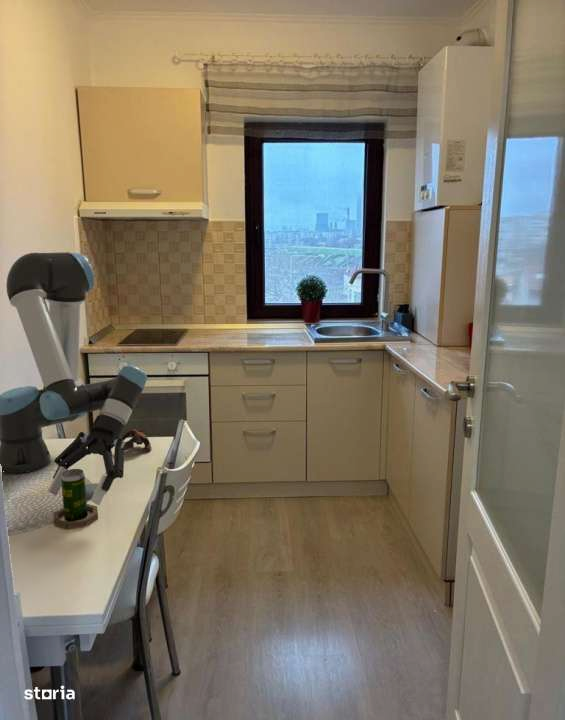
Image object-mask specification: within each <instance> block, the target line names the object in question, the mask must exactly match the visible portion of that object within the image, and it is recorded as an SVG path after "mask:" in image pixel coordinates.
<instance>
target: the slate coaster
mask: <svg viewBox="0 0 565 720" xmlns="http://www.w3.org/2000/svg"><path fill="white" fill-rule="evenodd" d="M98 484H99V482H97V483H95V482H94V483H85V487H86V499H88V500H91V499H92V496H93V494H94V492H95V490H96V488H97V486H98ZM107 492H108V491H106V492H105V494H107Z"/></svg>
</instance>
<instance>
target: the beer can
mask: <svg viewBox="0 0 565 720" xmlns="http://www.w3.org/2000/svg"><path fill="white" fill-rule="evenodd" d="M85 475H86V474H85V473H84V470H83V469H80V468H70V469H68V470H67V471H64V472H63V473H62V477H61V494H62V496H61V497H62V505H63V506H62V508H63V509H64V516H63V518H64V521H67V522H71V521H77V520H83V519H85V518H87V517H88V516H89V514H88V513H89V512H87V504H88V500H87V499H86V487H85V485H86V477H85Z"/></svg>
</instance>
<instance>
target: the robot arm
mask: <svg viewBox="0 0 565 720" xmlns="http://www.w3.org/2000/svg"><path fill="white" fill-rule="evenodd" d="M94 286H95V272H94V269H93V266H92V264H91V262H90V260H89V259H88V258H87V257H86V256H85V255H84V254H81V253H79V252H78V253H77V252H76V253H75V252H68V251H66V252H63V251H62V252H29V253H26V254H24V255H22V256H20V257H18V259H16V261H15V262H13V264H12V265H11V266H10V269H9V271H8V274H7V277H6V294H7V297H8V300H9V303H10V305H11V306H12V307H14V308H16V311H17V315H18V317H19V319H20V322H21V325H22V327H23V331H24V333H25V337H26V338H27V343H28V344H29V347H30V351H31V353H32V356H33V359H34V362H35V364H36V368H37V370H38V373H39V376H40V379H41V381H42V384H43V386H42V389H38V387H36V386H31V385H30V386H29V385H28V386H20V387H15V388H11V389H10V390H6V391H4V392H2V393H1V394H0V464H1V466H2V472H1V473H2V474H7V473H17V474H22V473H21V472H25V473H28V472H27V471H30V472H33V471H32V470H34V471H37V469H38V470H41V469H43V468H45V467H46V466H48V465H49V464H50V463H51V461H52V460H51V459H52V458H51V453H50V450H49V449H48V446H47V444H46V443H45V440H44V438H43V430H42V429H43V428H45V427H50V426H55V425H58V424H63V423H67V422H73V421H75V420H78V419H81V418H84V416H85V415H86V414H88V413H90V412H95V411H96V412H97V411H98V414H99V415H97V416H96V418H95V420H94V421H93V424H92V425H91V431H90V433H89V434H86V433H84V432H83V431H80V432H79V433H78V434H77V436H76V438H75V439H74V440H73V441H72V442H71V443H70V444H69V445H68V446H67V447H65V449H64V450H63V451H61V453H60V454H59V455H57V457H56V458H55V459H54V460H53V462H54V463H55V464H56V465H57V469H56V471H55V472H54V474H53V477H52V479H53V480H52V482H51V483H50V485H49V487H48V490H47V492H48V493H51V494H52V495H53V496H57V495H58V493H59V492H60V490H61V489H62V486H61V477H62V473H63V472H64V471H67V470H69V468H71V467H72V466H74V465H75V464H76V463H78V462H80V460H82V459H83V458H85V457H86V456H89V455H91V454H93V455H100V456H102V459H103V463H104V469H105V472H104V474H102V476H101V477H100V480H99V482H98V486H97V488H96V490H95V492H94V494H93V496H92V499H90V501H91V502H92V503H94V504H96V505H97V506H100V505H101V503H102V501H103V499H104V497H105V495H106V493H107V492H108V491H110V488H111V486H112V484H113V482H114V480H115V479H118V478H119V479H122V478H123V477H124V473H125V472H124V467H125V466H124V465H125V451H126V450H125V447H126V442H127V441H125V440H122V439H121V436H122V434H123V432H124V430H125V426H126V425H127V423H128V422H129V419H130V417H131V415H132V413H133V411H134V409H135V407H136V405H137V403H138V401H139V398H140V397H141V395H142V393H143V391H144V389H145V386H146V383H147V381H148V376H147V374H146V372H144V370H142V369H140V368H139V367H136V366H134V365H124V366H122V368H121V369H120V371H118V375H117V376H116V377H114V378H110V379H107V380H104V381H99V382H92V383H88V384H87V383H86V384H85V383H84V381H83V379H81V378H80V377H79V360H80V359H79V358H80V357H79V355H80V354H79V353H80V325H81V324H80V323H81V322H80V321H81V318H80V317H81V304H83V303H84V302H85V301H86V298H87V297H86V296H87V295H86V294H87V293H89V292H91V291H92V290H93V287H94ZM46 301H47V302H48V303H49V304H48V305H49V307H48V305H47V302H46ZM113 448H114V456H113V452H112V449H113ZM124 450H125V451H124ZM113 457H114V458H113ZM3 471H4V473H3ZM106 491H107V492H106ZM105 492H106V493H105Z"/></svg>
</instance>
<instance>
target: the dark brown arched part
mask: <svg viewBox="0 0 565 720" xmlns="http://www.w3.org/2000/svg"><path fill="white" fill-rule="evenodd" d="M129 437H131V438H130V439H128V440H127V441H125V440H126V439H127V438H129ZM120 438H121V439H122V440H124V441H125V442H126V447H125V450H124V452H125V451H128V450H129V449H133V450H135V447H134V446H135V445H134V444H136V445H139V446H140V445H142V444H143V445H144V447H145V448H147V449H148V452H149V451H151V452H152V446H151V442H150V440H149V438H148V436H147V435H146V434H145V433H144V432H143V430H142V429H141V428H133V429H129V430H128V431H126V432H125V433H124V434H123V435H122V434H121V436H120Z"/></svg>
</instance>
